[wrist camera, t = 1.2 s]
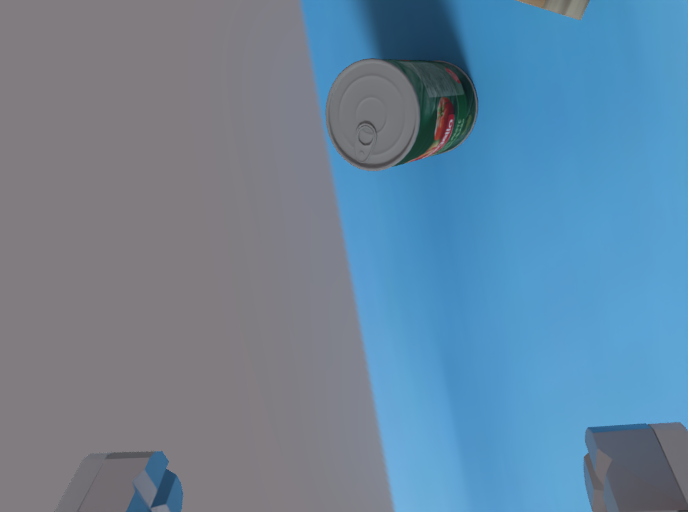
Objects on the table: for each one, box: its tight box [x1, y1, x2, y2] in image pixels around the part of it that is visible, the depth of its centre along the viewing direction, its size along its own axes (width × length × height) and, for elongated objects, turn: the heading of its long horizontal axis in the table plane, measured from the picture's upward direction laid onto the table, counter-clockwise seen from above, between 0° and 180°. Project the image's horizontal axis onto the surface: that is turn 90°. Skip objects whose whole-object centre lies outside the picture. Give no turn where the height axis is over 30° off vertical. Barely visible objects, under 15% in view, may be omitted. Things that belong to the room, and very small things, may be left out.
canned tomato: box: [326, 58, 478, 171], centre depth 45 cm, size 8×8×11 cm
